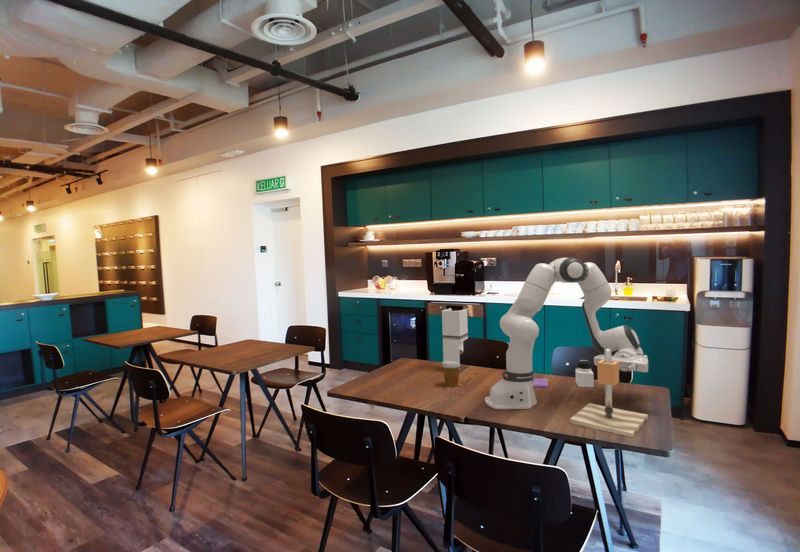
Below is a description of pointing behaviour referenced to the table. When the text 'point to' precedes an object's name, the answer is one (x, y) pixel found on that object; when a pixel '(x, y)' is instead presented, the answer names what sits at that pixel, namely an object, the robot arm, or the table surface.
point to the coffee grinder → (454, 334)
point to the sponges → (540, 383)
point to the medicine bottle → (584, 374)
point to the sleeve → (608, 372)
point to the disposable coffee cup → (451, 372)
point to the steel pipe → (608, 388)
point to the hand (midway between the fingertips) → (615, 367)
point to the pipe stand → (610, 420)
